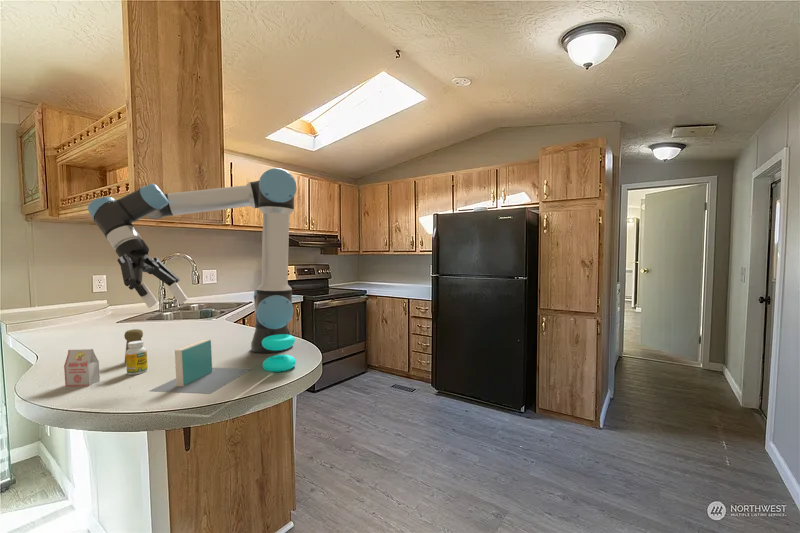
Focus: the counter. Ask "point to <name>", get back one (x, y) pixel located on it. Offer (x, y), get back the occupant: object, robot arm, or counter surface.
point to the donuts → (278, 361)
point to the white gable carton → (81, 368)
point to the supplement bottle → (136, 358)
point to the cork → (132, 337)
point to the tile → (193, 362)
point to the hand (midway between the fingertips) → (169, 303)
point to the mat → (204, 382)
